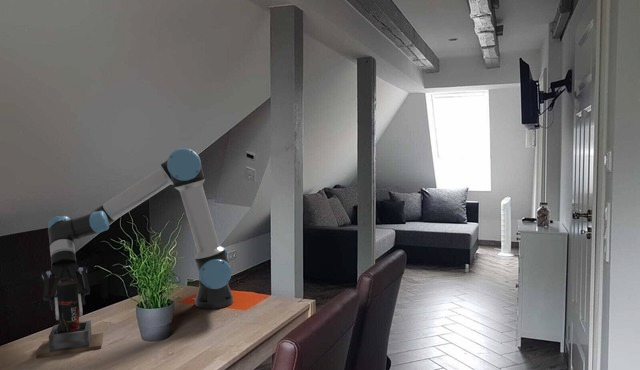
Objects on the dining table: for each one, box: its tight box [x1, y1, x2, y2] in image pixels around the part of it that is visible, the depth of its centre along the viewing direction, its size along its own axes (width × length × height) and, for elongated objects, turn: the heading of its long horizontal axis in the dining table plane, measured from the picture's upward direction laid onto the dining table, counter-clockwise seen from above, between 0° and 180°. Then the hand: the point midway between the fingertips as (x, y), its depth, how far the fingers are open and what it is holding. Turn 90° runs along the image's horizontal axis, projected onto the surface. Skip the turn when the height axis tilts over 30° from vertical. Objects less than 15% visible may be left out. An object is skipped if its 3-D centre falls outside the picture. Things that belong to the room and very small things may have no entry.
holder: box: [35, 320, 104, 359], centre depth 156 cm, size 18×12×6 cm, turn 111°
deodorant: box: [56, 280, 80, 332], centre depth 156 cm, size 6×6×15 cm
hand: (69, 315), depth 152 cm, fingers closed on deodorant, 6 cm apart
